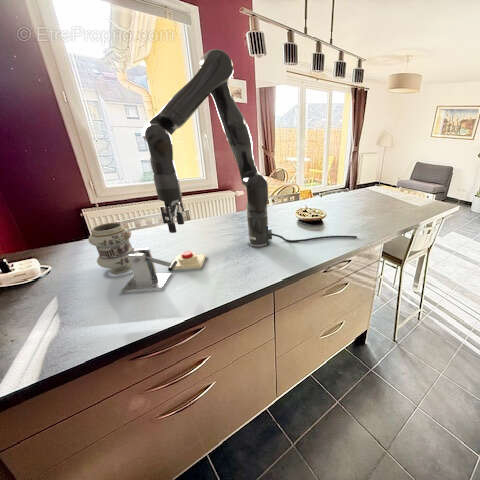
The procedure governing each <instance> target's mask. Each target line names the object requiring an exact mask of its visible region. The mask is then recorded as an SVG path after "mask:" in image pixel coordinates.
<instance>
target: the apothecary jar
mask: <svg viewBox="0 0 480 480" xmlns="http://www.w3.org/2000/svg"><path fill="white" fill-rule="evenodd" d="M90 231H91V234H90V235H89V236H88V243H89V244H90V245H92V246H94V247H95V248H96V251H97V253H98V257H97V259H96V263H97V265H98V266H99V267H101V268H103V269H109V272H110V273H111V274H123V273H126V272H129V271H132V268H131V265H130V262H129V259H128V255H129V254H134V251H133V250H134V249H135V247H132V245H131V242H130V239H131V237H132V231H130V229H128V228H126V227H124V226H123V224H122V223H121V222H106V223H101V224H98V225H95V226H93V227H92V228H91V229H90Z"/></svg>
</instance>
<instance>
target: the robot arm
mask: <svg viewBox="0 0 480 480" xmlns="http://www.w3.org/2000/svg"><path fill="white" fill-rule="evenodd" d="M233 74H234V63H233V61H232V58H231V57H230V55H229V54H228V53H227V52H226V51H224V50H222V49H219V48H214V49H210V50H208V51H207V52H206V53H205V54H203V55H202V56H201V58H200V61H199V70H197V72H196V73H195V74H194V75H193V77H192V78H191V79H190V80H189V81H188V82H187V83H186V84H185V85H184V86H183V87H182V88H180V89H179V90H178V91H177V92H176V93H175V94H174V95H173V96H171V97H170V99H169V100H168V101H167V102H166V103H165V105H164V106H163V107H162V108H161V110H160V111H159V112H158V113H157V114H156V115H155V116H153V118H151V119H150V120H149V121H148V122H147V123H146V124H145V125H144V127H143V128H142V131H141V136H142V138H143V139H144V141H145V142H146V144H147V147H148V151H149V155H150V157H149V162H150V163H149V164H150V168H151V171H152V176H153V184H154V186H155V190H156V191H155V192H156V194H157V199H158V200H159V201H161V202H163V204H164V206H160V208H159V209H160V213H161V217H162V223H163V224H164V225H165V224H167V227H168V232H169V233H170V234H176V233H177V227H176V223H177V225H184V224H185V219H184V213H185V207H184V202H183V194H182V188H181V183H180V179H179V176H178V173H177V168H176V164H175V161H174V160H175V159H174V147H173V140H172V136H173V134H174V133H175V132H176V131H177V130H178V129H181V128H182V127H183V126H184V125H185V124H186V123H187V121H189V120H190V118H191V117H192V116H193V115H194V113H195V112H196V111H197V110H198V109H199V108H200V106H201V105H202V103H203V102H204V101H205V100H206V99H207V98H208V97H209V96H210V95H211V97H212V99H213V102H214V105H215V107H216V111H217V115H218V117H219V120H220V123H221V126H222V130H223V132H224V134H225V135H224V136H225V137H226V140H227V143H228V145H229V148H230V150H231V153H232V155H233V157H234V160H235V163H236V165H237V168H238V172H239V176H240V180H241V184H242V187H243V189H244V190H245V191H246V198H247V199H246V201H247V202H246V203H245V209H246V221H247V231H248V243H249V245H250V246H251V247H254V248H261V247H266V246H270V240H273V237H277V238H280V239H282V240H283V241H284V242H287V243H298V242H309V241H313V240H321V239H333V238H334V239H335V238H347V239H357V238H358V237H357V236H356V235H326V236H323V235H322V236H316V237H309V238H303V239H287V238H285V237H284V236H282V235H279V234H278V233H277V234H276V233H273V232H272V228H271V229H270V228H269V218H268V217H269V216H268V204H269V186H268V181H267V179H266V177H265V176H263V175H262V174H260V172H259V171H258V168H257V165H256V163H255V159H254V154H253V153H254V152H253V140H252V135H251V133H250V129H249V126H248V123H247V120H246V118H245V117H244V114H243V113H242V112H241V111H242V110H241V109H240V108H239V106H238V104H237V103H236V101H235V99H234V97H233V94H232V91H231V88H230V83H229V80H230V79H232V76H233ZM175 220H176V222H175Z"/></svg>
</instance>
